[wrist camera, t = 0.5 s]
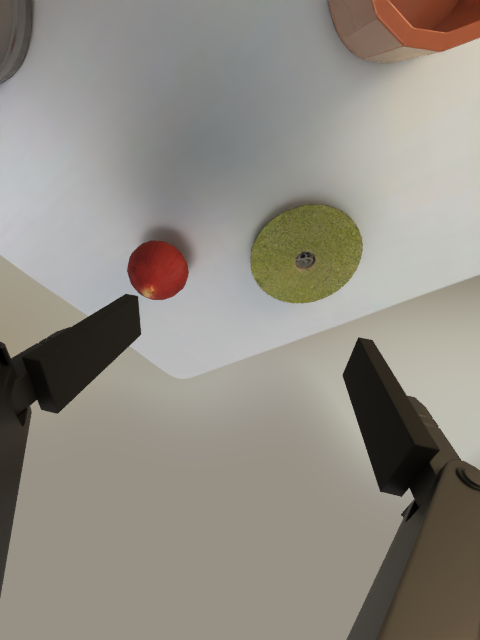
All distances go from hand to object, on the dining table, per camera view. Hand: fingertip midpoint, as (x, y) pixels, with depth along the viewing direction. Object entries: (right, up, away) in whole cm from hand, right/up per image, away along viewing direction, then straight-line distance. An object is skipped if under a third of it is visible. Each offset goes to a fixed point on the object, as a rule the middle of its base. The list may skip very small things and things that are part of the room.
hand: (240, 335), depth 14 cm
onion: (-8, +9, +13) cm, 18 cm away
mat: (+7, +8, +12) cm, 16 cm away
